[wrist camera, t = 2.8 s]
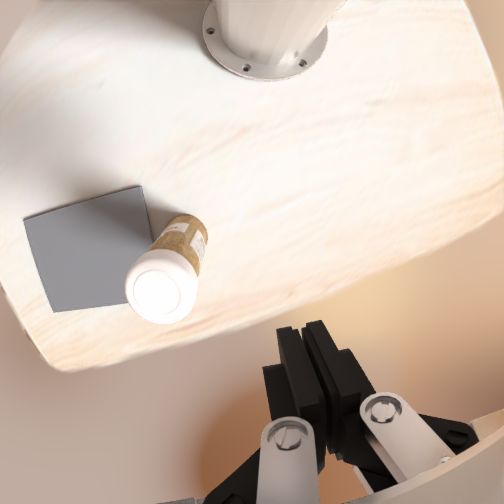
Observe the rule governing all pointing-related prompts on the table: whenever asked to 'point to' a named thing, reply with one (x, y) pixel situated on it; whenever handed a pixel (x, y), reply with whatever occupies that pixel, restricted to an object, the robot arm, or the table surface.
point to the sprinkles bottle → (168, 272)
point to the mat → (90, 249)
